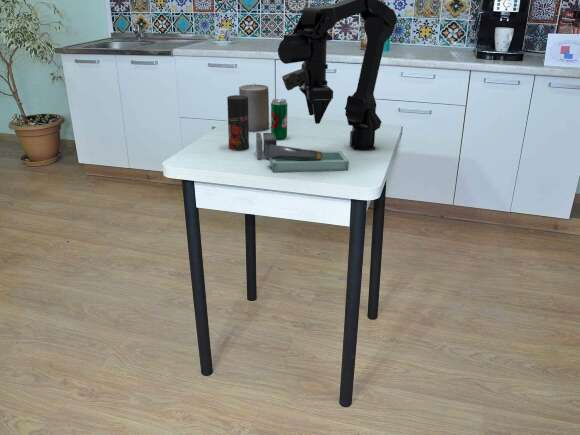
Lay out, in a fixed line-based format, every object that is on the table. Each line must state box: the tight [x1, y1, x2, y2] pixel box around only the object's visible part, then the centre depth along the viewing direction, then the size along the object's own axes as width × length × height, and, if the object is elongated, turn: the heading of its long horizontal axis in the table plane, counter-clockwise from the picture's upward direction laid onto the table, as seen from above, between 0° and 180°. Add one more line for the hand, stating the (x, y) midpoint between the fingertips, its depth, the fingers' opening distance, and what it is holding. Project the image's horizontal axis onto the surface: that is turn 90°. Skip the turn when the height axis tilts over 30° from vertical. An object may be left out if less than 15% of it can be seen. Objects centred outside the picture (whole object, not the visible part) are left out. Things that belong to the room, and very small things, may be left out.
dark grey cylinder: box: [268, 144, 323, 161], centre depth 146 cm, size 14×3×3 cm, turn 97°
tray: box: [269, 150, 350, 173], centre depth 148 cm, size 20×9×2 cm, turn 97°
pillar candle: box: [238, 82, 270, 133], centre depth 182 cm, size 10×10×15 cm
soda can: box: [270, 98, 288, 141], centre depth 171 cm, size 5×5×12 cm
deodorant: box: [226, 94, 250, 152], centre depth 160 cm, size 6×6×15 cm
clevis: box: [255, 132, 278, 161], centre depth 155 cm, size 5×8×6 cm, turn 7°
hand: (314, 119), depth 148 cm, fingers open, 9 cm apart
